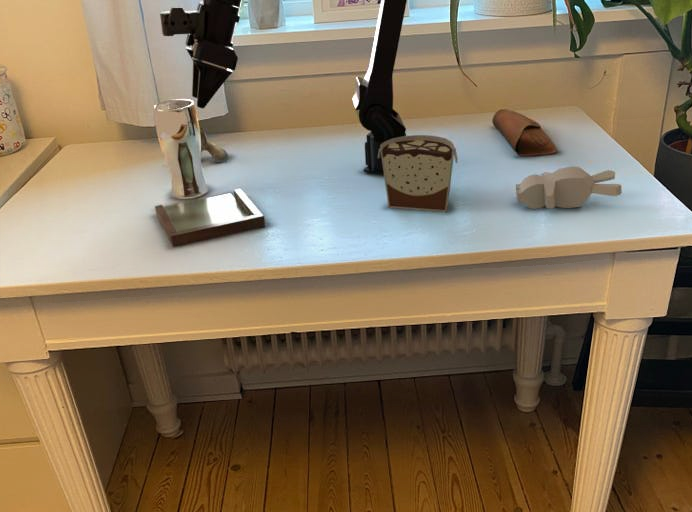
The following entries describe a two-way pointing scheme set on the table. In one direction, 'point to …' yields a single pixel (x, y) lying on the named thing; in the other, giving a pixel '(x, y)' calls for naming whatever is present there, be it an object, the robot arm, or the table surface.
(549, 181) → the bunny figurine
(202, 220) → the dock
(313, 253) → the table surface
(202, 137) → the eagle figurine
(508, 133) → the sunglasses case
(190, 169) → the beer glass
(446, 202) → the food container
